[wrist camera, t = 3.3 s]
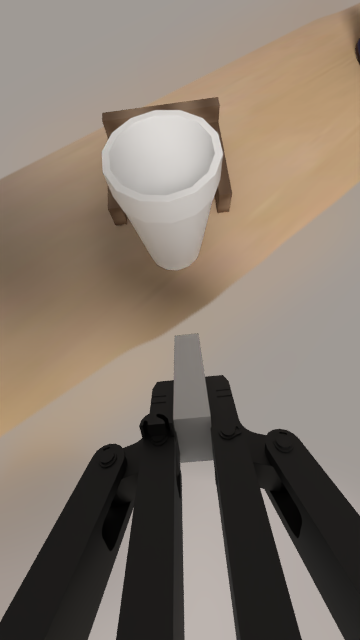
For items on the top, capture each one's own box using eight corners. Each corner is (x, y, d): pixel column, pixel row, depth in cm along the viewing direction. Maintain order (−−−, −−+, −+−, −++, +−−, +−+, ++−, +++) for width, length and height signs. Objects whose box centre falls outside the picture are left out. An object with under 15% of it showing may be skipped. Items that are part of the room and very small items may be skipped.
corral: (115, 225, 34) (102, 196, 29) (114, 149, 38) (102, 113, 33) (229, 211, 33) (234, 179, 28) (215, 135, 37) (217, 97, 32)
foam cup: (153, 210, 34) (128, 101, 22) (220, 225, 33) (235, 119, 20) (127, 271, 31) (82, 188, 19) (199, 290, 30) (200, 215, 18)
